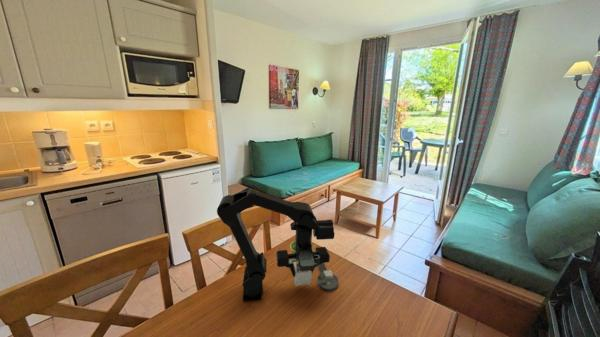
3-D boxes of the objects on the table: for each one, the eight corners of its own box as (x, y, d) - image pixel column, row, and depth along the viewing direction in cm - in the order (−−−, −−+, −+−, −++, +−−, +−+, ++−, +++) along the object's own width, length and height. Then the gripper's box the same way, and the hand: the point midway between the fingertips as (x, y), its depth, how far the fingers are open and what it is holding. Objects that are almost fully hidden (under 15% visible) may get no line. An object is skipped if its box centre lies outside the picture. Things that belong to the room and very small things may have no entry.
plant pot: (299, 273, 98) (300, 255, 96) (285, 261, 105) (285, 245, 102) (315, 263, 104) (316, 246, 102) (301, 253, 111) (301, 237, 108)
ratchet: (340, 290, 90) (341, 279, 89) (320, 292, 89) (321, 281, 87) (328, 261, 106) (328, 252, 104) (310, 263, 104) (311, 253, 103)
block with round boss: (295, 285, 85) (295, 269, 83) (292, 274, 90) (293, 258, 88) (311, 284, 86) (312, 268, 84) (307, 272, 91) (308, 257, 89)
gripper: (279, 255, 74) (278, 295, 78) (336, 250, 77) (332, 289, 82) (276, 235, 84) (276, 272, 89) (326, 232, 88) (324, 267, 92)
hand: (301, 275), depth 88 cm, fingers closed on block with round boss, 6 cm apart
